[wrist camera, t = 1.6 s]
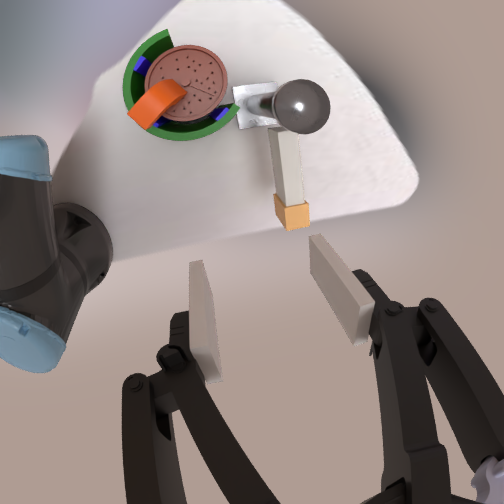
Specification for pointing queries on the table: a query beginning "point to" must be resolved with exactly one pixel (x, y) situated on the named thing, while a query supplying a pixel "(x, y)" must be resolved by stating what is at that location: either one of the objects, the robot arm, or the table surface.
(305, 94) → the post
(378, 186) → the table surface
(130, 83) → the motor
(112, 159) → the table surface
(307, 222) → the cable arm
